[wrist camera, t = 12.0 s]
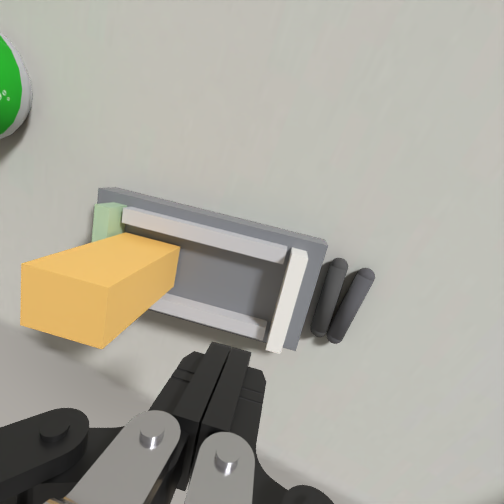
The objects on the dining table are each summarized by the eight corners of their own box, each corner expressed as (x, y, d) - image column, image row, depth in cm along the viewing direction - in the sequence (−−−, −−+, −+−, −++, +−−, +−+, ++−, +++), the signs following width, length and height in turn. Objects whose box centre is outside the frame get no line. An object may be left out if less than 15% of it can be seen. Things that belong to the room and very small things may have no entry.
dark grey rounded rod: (359, 263, 21) (363, 268, 19) (375, 269, 21) (380, 274, 19) (323, 334, 22) (324, 342, 21) (337, 340, 22) (340, 349, 21)
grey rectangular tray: (324, 239, 21) (331, 252, 17) (295, 336, 23) (295, 368, 19) (115, 187, 22) (77, 188, 18) (106, 284, 24) (70, 303, 20)
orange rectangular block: (180, 246, 20) (108, 287, 12) (173, 286, 20) (102, 349, 13) (125, 232, 20) (21, 263, 12) (121, 272, 21) (20, 325, 13)
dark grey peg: (332, 254, 21) (334, 258, 20) (348, 258, 21) (351, 262, 19) (308, 329, 22) (309, 337, 21) (323, 333, 22) (325, 341, 21)
